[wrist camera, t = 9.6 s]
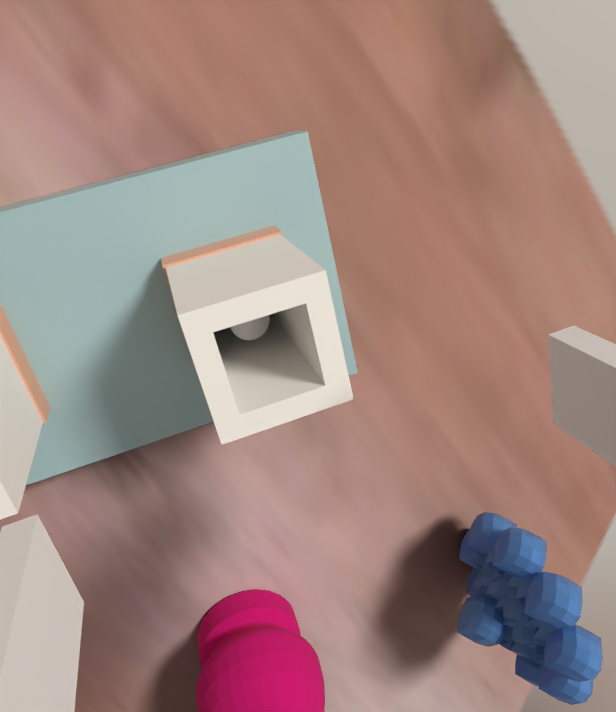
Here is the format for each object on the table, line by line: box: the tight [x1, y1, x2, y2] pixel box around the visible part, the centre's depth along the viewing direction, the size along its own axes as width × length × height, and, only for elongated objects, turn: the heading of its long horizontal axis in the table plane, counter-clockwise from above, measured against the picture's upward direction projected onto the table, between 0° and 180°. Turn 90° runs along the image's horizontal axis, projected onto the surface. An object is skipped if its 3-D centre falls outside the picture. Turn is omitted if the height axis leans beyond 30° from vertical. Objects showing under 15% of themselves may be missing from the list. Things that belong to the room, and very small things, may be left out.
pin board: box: [0, 130, 358, 485], centre depth 25 cm, size 12×22×6 cm, turn 103°
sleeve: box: [161, 225, 353, 444], centre depth 24 cm, size 5×5×8 cm
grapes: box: [457, 512, 603, 705], centre depth 35 cm, size 12×7×12 cm, turn 15°
